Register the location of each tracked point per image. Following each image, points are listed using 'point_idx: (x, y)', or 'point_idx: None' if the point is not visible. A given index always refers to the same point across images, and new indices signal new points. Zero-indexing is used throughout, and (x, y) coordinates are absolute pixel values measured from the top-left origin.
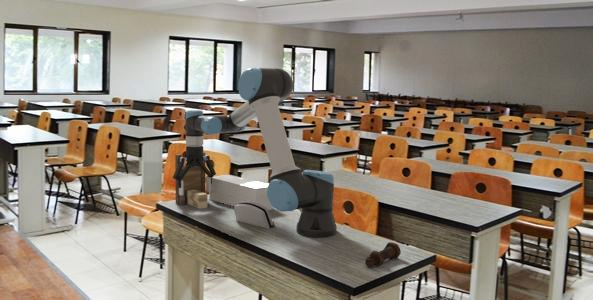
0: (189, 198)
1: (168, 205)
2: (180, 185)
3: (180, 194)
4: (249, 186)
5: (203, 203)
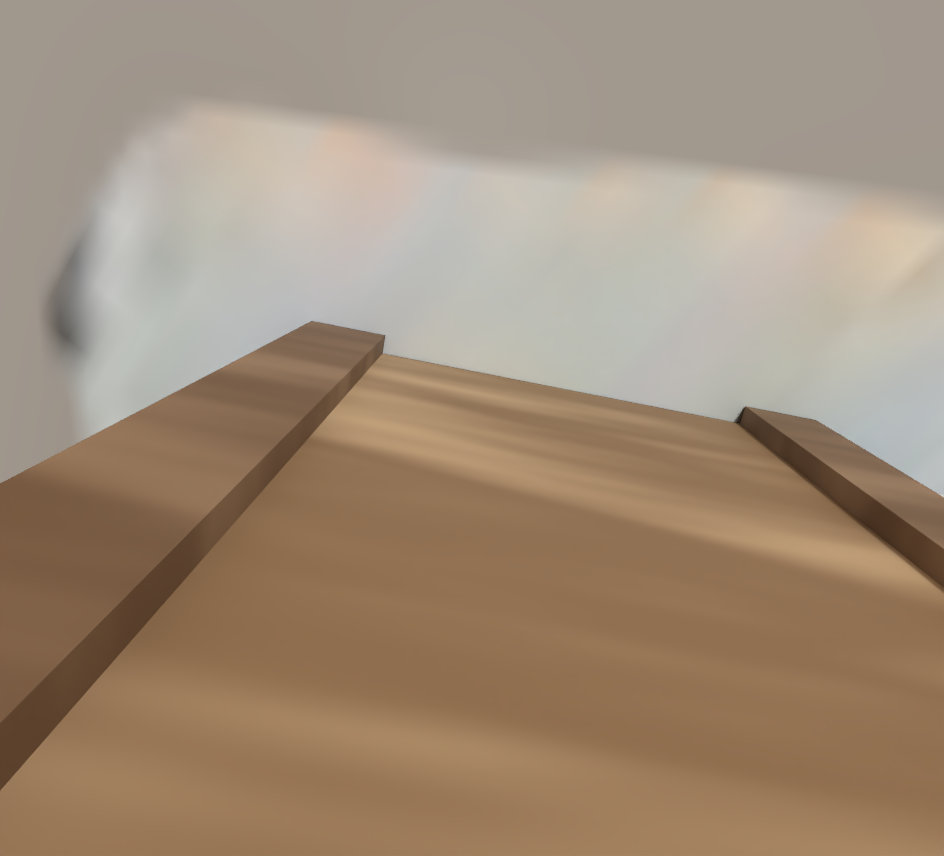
0: None
1: (152, 348)
2: None
3: None
4: None
5: None
